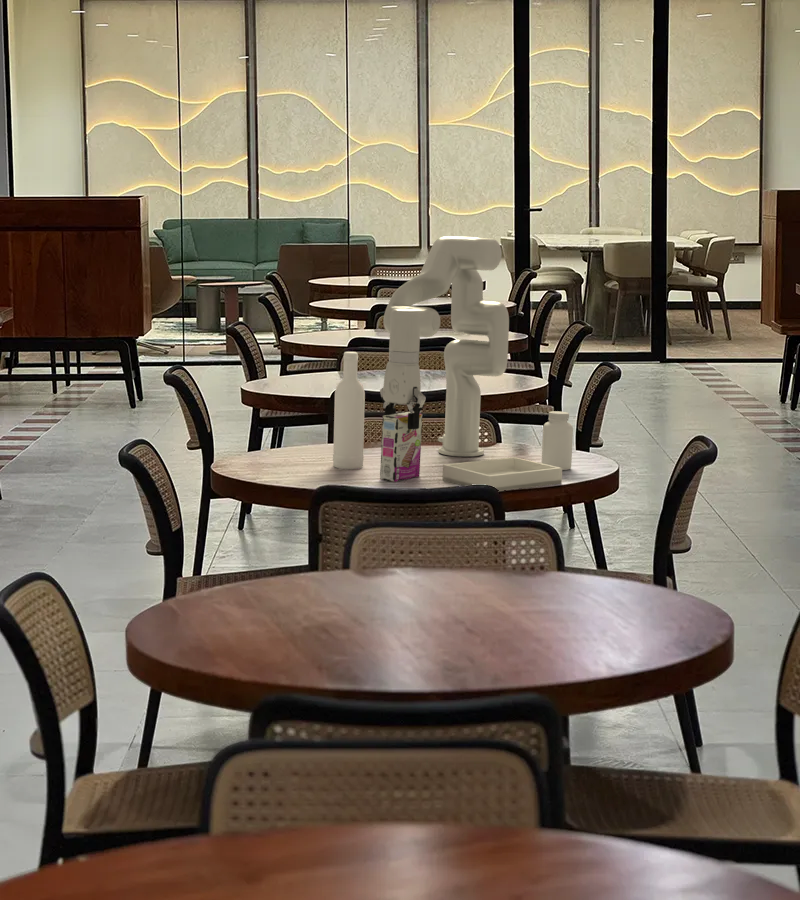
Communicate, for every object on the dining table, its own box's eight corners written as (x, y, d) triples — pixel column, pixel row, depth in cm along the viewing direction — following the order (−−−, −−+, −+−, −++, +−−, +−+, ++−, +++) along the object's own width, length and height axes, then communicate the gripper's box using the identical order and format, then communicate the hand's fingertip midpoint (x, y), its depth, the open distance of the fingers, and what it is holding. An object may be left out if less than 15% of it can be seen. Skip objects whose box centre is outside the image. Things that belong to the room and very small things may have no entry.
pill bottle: (571, 466, 422) (573, 411, 419) (571, 471, 414) (574, 415, 411) (541, 465, 422) (543, 409, 420) (541, 470, 414) (543, 413, 412)
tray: (442, 480, 396) (443, 464, 395) (514, 472, 410) (514, 457, 410) (489, 492, 382) (489, 476, 381) (561, 483, 396) (562, 468, 396)
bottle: (367, 465, 413) (370, 351, 408) (356, 470, 406) (360, 354, 401) (339, 463, 416) (341, 350, 411) (328, 467, 409) (330, 352, 404)
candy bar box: (395, 482, 391) (397, 417, 388) (379, 480, 394) (381, 415, 391) (421, 477, 400) (423, 413, 397) (405, 474, 402) (407, 411, 400)
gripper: (371, 355, 396) (368, 422, 398) (413, 362, 382) (410, 431, 385) (394, 354, 400) (392, 421, 403) (437, 361, 387) (434, 430, 389)
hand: (401, 426), depth 394 cm, fingers open, 9 cm apart
